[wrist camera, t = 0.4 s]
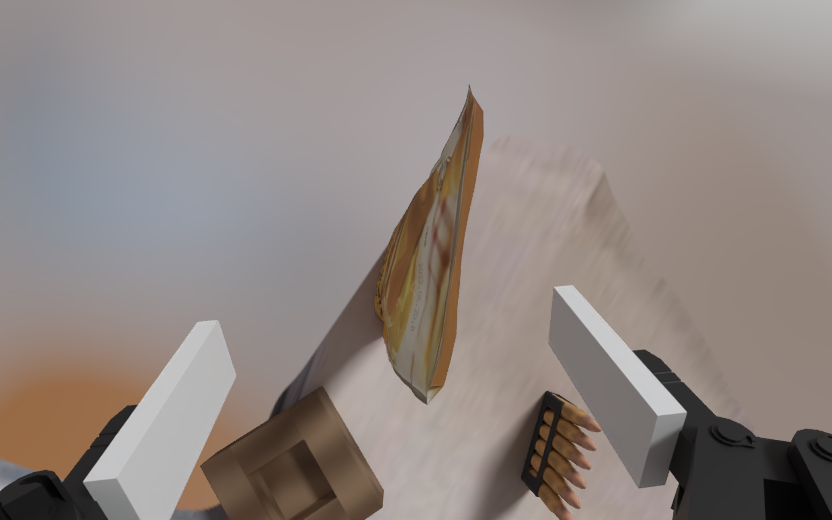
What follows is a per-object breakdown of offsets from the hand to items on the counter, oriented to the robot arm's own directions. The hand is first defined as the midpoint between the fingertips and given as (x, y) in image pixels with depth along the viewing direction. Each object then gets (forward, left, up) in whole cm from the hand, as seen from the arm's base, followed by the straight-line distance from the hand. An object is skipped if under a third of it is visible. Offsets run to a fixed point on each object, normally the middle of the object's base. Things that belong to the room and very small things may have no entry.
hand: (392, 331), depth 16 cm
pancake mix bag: (+3, -4, -34) cm, 34 cm away
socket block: (-10, +19, -34) cm, 40 cm away
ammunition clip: (-22, -7, -34) cm, 41 cm away
